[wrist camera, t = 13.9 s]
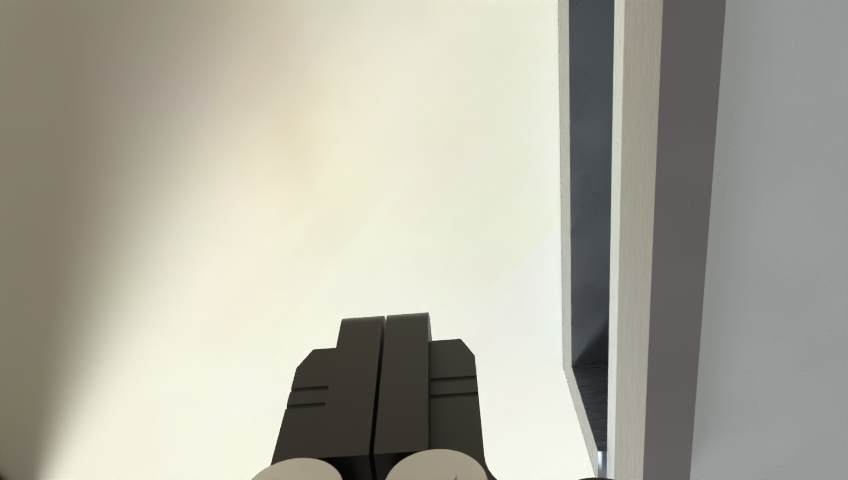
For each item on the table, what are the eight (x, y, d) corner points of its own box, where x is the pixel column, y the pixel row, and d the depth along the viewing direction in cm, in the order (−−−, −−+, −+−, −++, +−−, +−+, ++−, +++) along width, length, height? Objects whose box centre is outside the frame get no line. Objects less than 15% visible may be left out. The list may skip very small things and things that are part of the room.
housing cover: (606, 486, 25) (638, 589, 21) (619, -308, 16) (678, -364, 12) (875, 467, 25) (954, 568, 21) (1044, -352, 16) (1233, -423, 12)
